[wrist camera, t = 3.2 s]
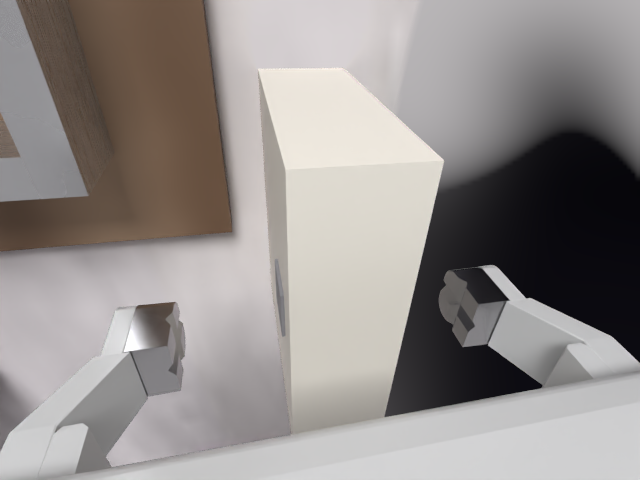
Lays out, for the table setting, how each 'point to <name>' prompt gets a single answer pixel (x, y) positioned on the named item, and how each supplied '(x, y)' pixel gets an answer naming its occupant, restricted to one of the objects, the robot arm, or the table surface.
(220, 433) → the table surface
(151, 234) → the track board
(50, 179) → the bottom track
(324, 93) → the door panel
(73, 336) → the table surface
